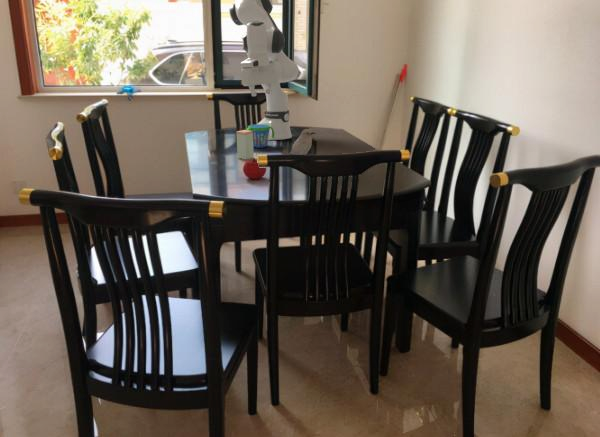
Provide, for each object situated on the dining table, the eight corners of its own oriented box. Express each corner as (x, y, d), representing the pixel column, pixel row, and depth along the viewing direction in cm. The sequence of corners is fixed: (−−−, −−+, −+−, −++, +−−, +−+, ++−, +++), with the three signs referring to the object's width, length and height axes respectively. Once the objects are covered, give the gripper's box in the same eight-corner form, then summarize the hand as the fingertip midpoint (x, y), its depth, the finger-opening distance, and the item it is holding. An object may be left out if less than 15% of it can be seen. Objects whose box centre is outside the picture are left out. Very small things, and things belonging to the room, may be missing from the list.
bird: (313, 166, 210) (312, 130, 205) (284, 163, 216) (283, 128, 211) (318, 164, 214) (318, 128, 209) (289, 161, 220) (289, 126, 215)
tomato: (269, 180, 192) (268, 159, 189) (246, 182, 189) (245, 161, 187) (262, 174, 200) (262, 154, 197) (240, 176, 197) (239, 156, 194)
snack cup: (270, 143, 257) (270, 122, 253) (278, 147, 248) (278, 126, 244) (241, 146, 251) (240, 125, 247) (248, 150, 242) (247, 128, 238)
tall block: (237, 158, 226) (236, 131, 222) (245, 156, 230) (244, 129, 226) (246, 160, 223) (244, 132, 219) (253, 157, 227) (252, 130, 223)
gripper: (268, 60, 228) (270, 92, 233) (237, 63, 213) (240, 97, 217) (279, 60, 224) (281, 92, 229) (248, 63, 209) (251, 97, 214)
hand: (261, 94), depth 223 cm, fingers open, 8 cm apart
